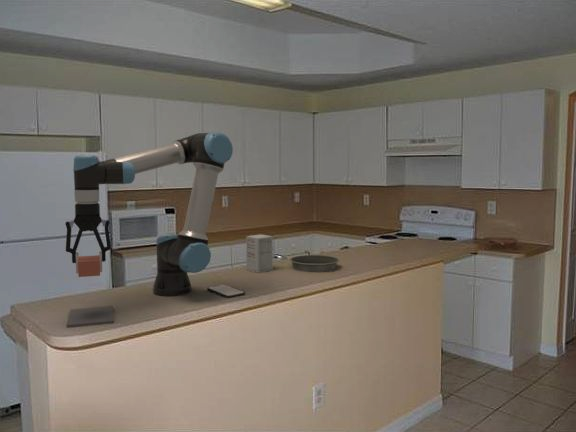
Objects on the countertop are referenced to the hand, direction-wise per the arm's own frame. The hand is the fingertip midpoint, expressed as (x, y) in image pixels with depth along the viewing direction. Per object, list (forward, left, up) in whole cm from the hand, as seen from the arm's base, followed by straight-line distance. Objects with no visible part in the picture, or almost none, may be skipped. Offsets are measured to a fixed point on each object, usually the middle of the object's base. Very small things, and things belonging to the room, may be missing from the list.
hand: (89, 271), depth 168 cm
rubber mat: (0, 0, -15) cm, 15 cm away
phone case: (-50, -18, -16) cm, 55 cm away
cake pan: (-103, -52, -16) cm, 117 cm away
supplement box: (-75, -54, -16) cm, 94 cm away
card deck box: (0, 0, 0) cm, 0 cm away
